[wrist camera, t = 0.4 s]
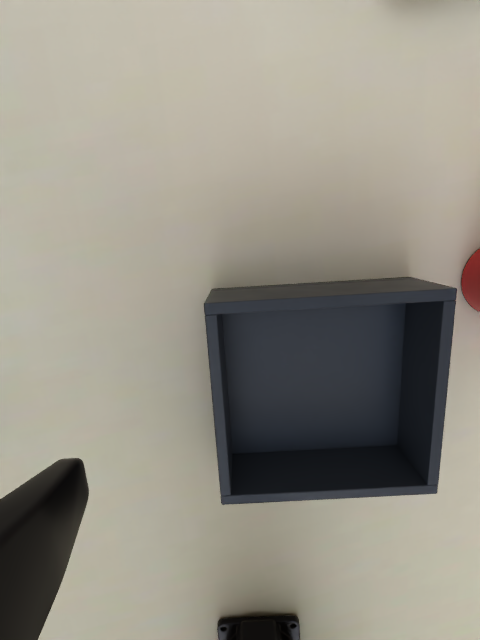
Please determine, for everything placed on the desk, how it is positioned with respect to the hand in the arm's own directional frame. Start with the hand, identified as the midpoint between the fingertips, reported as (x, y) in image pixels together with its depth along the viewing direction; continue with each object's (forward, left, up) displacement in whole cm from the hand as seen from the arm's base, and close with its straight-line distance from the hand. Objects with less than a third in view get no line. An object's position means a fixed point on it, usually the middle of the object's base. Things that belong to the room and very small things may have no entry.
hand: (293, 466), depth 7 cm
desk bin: (-4, -3, -14) cm, 15 cm away
